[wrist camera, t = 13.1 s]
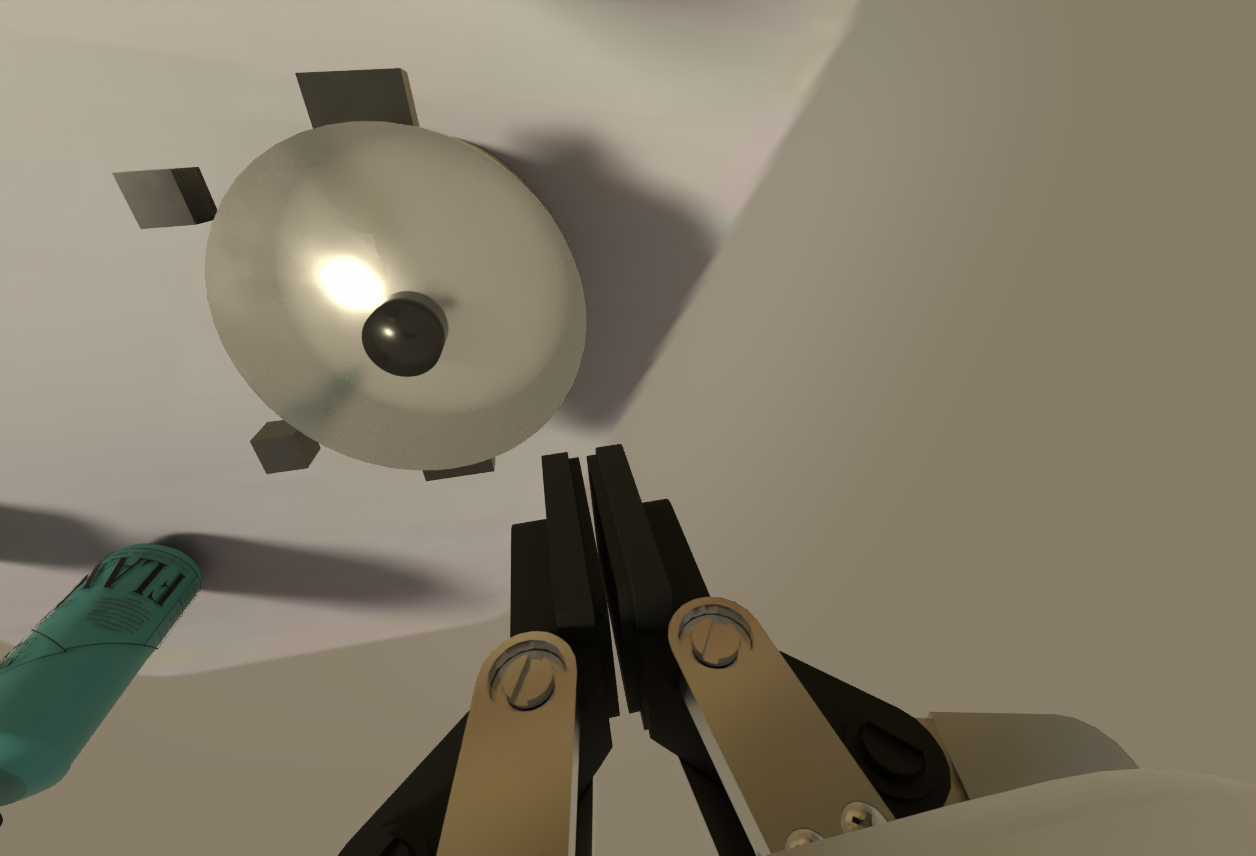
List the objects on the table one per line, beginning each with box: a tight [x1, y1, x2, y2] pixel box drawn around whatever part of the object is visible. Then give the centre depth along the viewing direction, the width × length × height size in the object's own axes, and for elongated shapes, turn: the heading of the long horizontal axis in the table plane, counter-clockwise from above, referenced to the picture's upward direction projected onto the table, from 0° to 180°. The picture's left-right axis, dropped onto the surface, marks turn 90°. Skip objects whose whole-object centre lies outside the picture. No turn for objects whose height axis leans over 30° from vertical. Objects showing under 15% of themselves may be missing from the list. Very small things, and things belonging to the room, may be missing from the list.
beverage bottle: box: [0, 544, 202, 826], centre depth 32 cm, size 6×7×20 cm
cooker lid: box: [205, 121, 587, 470], centre depth 23 cm, size 16×16×4 cm
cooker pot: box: [112, 68, 537, 481], centre depth 28 cm, size 20×17×11 cm
